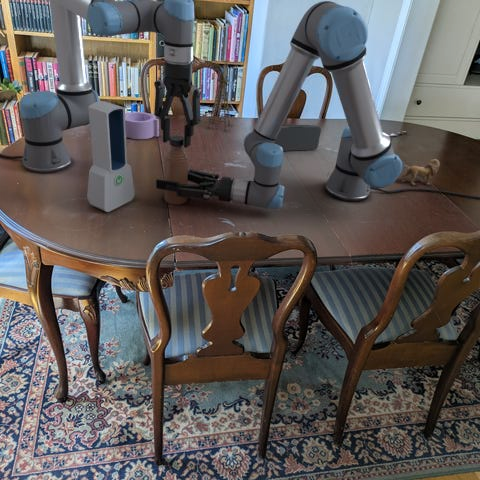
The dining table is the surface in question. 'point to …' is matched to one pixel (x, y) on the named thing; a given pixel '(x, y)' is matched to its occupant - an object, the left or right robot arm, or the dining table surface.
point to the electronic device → (109, 158)
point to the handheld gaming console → (298, 137)
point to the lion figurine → (422, 171)
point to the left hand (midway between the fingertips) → (176, 143)
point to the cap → (176, 141)
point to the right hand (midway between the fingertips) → (160, 178)
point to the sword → (395, 134)
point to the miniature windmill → (222, 80)
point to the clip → (141, 125)
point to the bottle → (175, 172)
